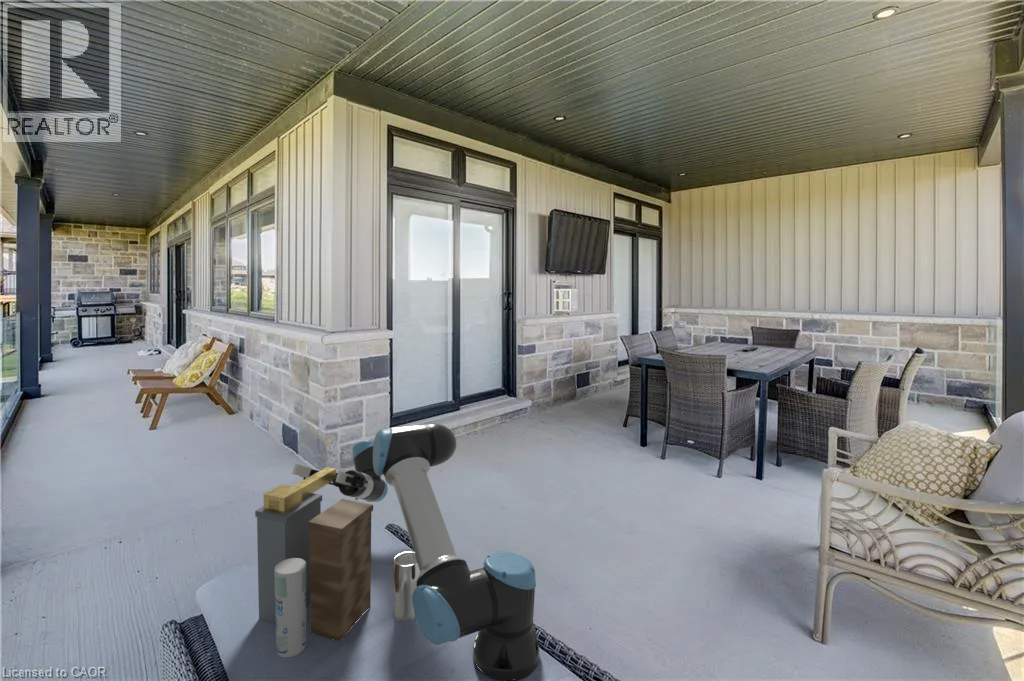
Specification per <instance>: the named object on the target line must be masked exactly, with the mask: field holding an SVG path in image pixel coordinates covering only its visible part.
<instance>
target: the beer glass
mask: <svg viewBox="0 0 1024 681" xmlns="http://www.w3.org/2000/svg"><path fill="white" fill-rule="evenodd" d="M419 575H420V570H419V566H418V563H417V560H416V557H415V553H414V551H403V552H401V553H398V554H397V555H395V557H394V558H393V566H392V583H393V584H392V586H393V590H394V596H395V606H394V610H393V617H394V619H396V620H397V619H398V620H397V621H399V620H400V621H399V622H403V621H406V622H411V621H413V620H414V619H416V618H415V614H414V607H413V602H412V596H413V592H414V590H415V588H417V585H416V581H417V579H418V577H419Z"/></svg>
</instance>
